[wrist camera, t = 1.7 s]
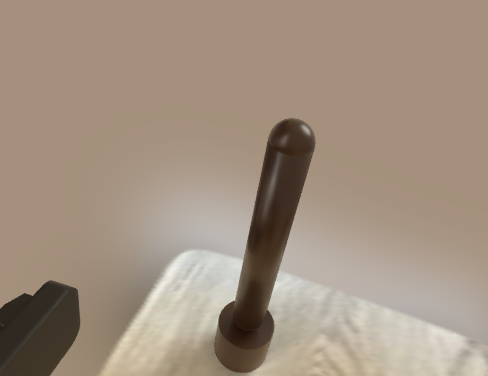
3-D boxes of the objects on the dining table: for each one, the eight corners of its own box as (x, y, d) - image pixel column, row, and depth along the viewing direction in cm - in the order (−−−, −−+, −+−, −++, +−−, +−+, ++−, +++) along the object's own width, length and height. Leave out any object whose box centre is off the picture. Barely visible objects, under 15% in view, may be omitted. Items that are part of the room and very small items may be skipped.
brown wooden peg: (206, 332, 29) (239, 104, 18) (253, 317, 31) (310, 96, 19) (226, 380, 27) (278, 153, 15) (275, 361, 28) (357, 140, 17)
